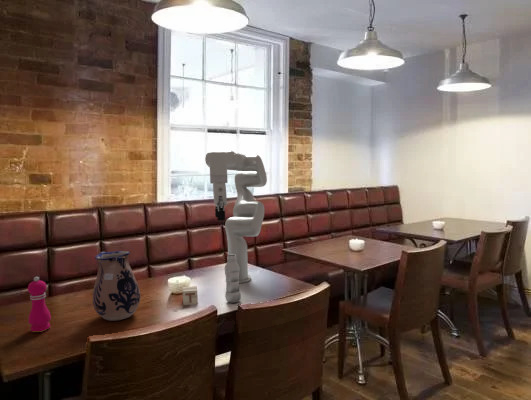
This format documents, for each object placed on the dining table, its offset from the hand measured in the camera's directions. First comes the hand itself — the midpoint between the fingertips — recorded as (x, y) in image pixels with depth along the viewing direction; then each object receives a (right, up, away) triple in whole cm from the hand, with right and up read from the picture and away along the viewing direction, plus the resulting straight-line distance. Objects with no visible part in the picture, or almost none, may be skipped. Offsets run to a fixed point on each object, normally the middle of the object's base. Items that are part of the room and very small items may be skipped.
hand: (220, 218), depth 185 cm
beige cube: (-12, -36, -5) cm, 38 cm away
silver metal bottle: (+6, -35, -6) cm, 36 cm away
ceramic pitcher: (-39, -38, -19) cm, 58 cm away
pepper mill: (-62, -40, -31) cm, 80 cm away
